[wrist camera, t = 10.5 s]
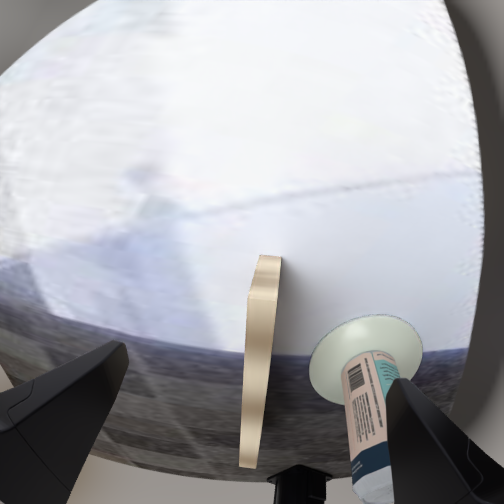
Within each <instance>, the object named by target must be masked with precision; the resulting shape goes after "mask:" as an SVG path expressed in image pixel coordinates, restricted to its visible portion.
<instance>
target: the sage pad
mask: <svg viewBox="0 0 504 504" xmlns="http://www.w3.org/2000/svg"><path fill="white" fill-rule="evenodd" d="M372 350H378V351H384V352H386V353H388V354H390V355H391V356H392V357H393V358H394V360H395V362H396V366H397V369H398V372H399V374H400V377H401V378H407V379H409V380H411V379H412V377H413V376H414V375H415V373H416V371H417V370H418V368H419V365H420V363H421V359H422V343H421V340H420V338H419V336H418V334H417V332H416V331H415V329H414V328H413V327H412V326H411V325H410V324H409V323H407V322H406V321H404V320H402V319H400V318H398V317H395V316H390V315H380V314H377V315H368V316H362V317H359V318H355V319H352V320H350V321H347V322H345V323H343V324H341V325H339V326H338V327H336V328H335V329H333V330H332V331H330V332H329V333H328V334H327V335H326V336H325V337H324V338H323V339H322V340H321V341H320V342H319V343H318V345H317V346H316V348H315V349H314V351H313V353H312V356H311V358H310V363H309V376H310V381H311V384H312V386H313V387H314V389H315V390H316V391H317V393H318V394H320V395H321V396H322V397H324V398H325V399H327V400H329V401H331V402H334V403H337V404H342V405H345V403H344V396H343V388H342V381H341V372H342V369H343V367H344V366H345V365H346V363H347V362H348V361H349V360H351V359H352V358H354V357H355V356H357V355H359V354H361V353H363V352H367V351H372Z"/></svg>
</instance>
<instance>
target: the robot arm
mask: <svg viewBox="0 0 504 504" xmlns="http://www.w3.org/2000/svg"><path fill="white" fill-rule="evenodd" d="M128 365H129V358H128V354H127V349H126V345H125V343H124V342H121V341H118V340H112V341H110V342H108V343H106V344H104V345H102V346H100V347H98V348H96V349H94V350H91V351H89V352H87V353H85V354H83V355H81V356H79V357H77V358H75V359H73V360H71V361H69V362H67V363H65V364H63V365H61V366H59V367H57V368H55V369H53V370H51V371H48V372H46V373H44V374H42V375H40V376H38V377H36V378H35V379H32V380H30V381H27V382H25V383H23V384H21V385H19V386H16V387H14V388H11V389H9V390H7V391H4V392H1V393H0V504H66V503H67V501H68V499H69V496H70V494H71V492H70V491H72V489H73V487H74V484H75V482H76V480H77V478H78V476H79V474H80V472H81V469H82V467H83V465H84V463H85V461H86V458H87V457H88V454H89V452H90V450H91V448H92V446H93V444H94V442H95V440H96V438H97V436H98V434H99V432H100V430H101V428H102V426H103V424H104V422H105V420H106V418H107V416H108V414H109V412H110V410H111V408H112V406H113V404H114V402H115V399H116V397H117V394H118V392H119V389H120V386H121V384H122V381H123V378H124V376H125V373H126V371H127V368H128ZM385 403H386V425H387V442H388V449H389V457H390V465H391V473H392V483H393V493H394V504H504V468H503V467H502V466H501V465H499V464H498V463H497V462H496V461H494V460H493V459H492V458H490V456H488V455H487V454H486V453H485V452H484V451H483V450H481V449H480V448H479V447H478V446H477V445H476V444H475V443H474V442H473V441H472V440H471V439H469V438H468V436H467V435H466V434H465V433H464V432H463V431H462V430H461V429H460V428H459V427H458V426H456V424H454V423H453V422H452V421H451V420H450V419H449V418H448V417H447V416H446V415H445V414H444V413H443V412H442V411H441V410H440V409H439V408H438V407H437V406H436V405H435V404H434V403H433V402H432V401H431V400H430V399H429V398H428V397H426V396H425V395H424V394H423V393H422V392H421V391H420V390H419V389H418V388H417V387H416V386H415V385H414V384H413V383H412V382H411V381H410V380H409V379H407V378H395V379H394V380H393V382H392V384H391V386H390V388H389V390H388V392H387V394H386V398H385ZM330 480H332V476H331V475H328V474H325V473H322V472H318V471H316V470H313V469H310V468H307V467H304V466H301V465H296V466H294V467H292V468H289V469H287V470H285V471H283V472H281V473H278V474H276V475H274V476H271V477H269V478H267V482H269V483H272V484H275V494H274V503H273V504H324V501H326V482H327V481H330Z"/></svg>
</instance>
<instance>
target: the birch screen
mask: <svg viewBox="0 0 504 504" xmlns="http://www.w3.org/2000/svg"><path fill="white" fill-rule="evenodd" d="M280 267H281V257H276V256H265V255H259V259H258V262H257V266H256V270H255V273H254V277H253V280H252V284H251V288H250V291H249V295H248V300H247V319H246V339H245V358H244V378H243V397H242V417H241V437H240V458H239V467H247V468H255V469H256V464H257V457H258V450H259V444H260V437H261V429H262V422H263V415H264V407H265V400H266V392H267V384H268V376H269V368H270V360H271V352H272V343H273V334H274V325H275V316H276V307H277V298H278V288H279V277H280Z"/></svg>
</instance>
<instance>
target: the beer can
mask: <svg viewBox="0 0 504 504" xmlns="http://www.w3.org/2000/svg"><path fill="white" fill-rule="evenodd" d="M395 378H401V377H400V374H399V372H398V369H397V366H396V362H395V360H394V358H393V357H392V356H391V355H390V354H388V353H386V352H384V351H378V350H372V351H367V352H363V353H361V354H359V355H357V356H355V357H354V358H352V359H351V360H349V361H348V362H347V363H346V365H345V366H344V367H343V369H342V372H341V381H342V388H343V396H344V403H345V411H346V420H347V428H348V438H349V447H350V458H351V470H352V483H353V492H354V493H355V494H357V495H358V497H359V499H360V500H361V501H362V503H363V504H388V503H393V502H394V493H393V483H392V473H391V465H390V457H389V449H388V442H387V425H386V403H385V398H386V394H387V392H388V390H389V388H390V386H391V384H392V382H393V380H394V379H395Z"/></svg>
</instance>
